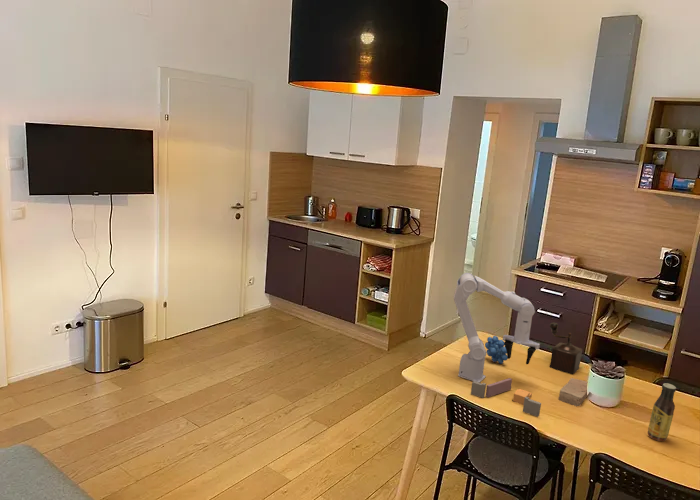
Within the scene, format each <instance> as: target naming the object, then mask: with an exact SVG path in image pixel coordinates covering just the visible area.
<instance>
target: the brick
mask: <svg viewBox="0 0 700 500" xmlns="http://www.w3.org/2000/svg"><path fill="white" fill-rule="evenodd" d="M587 383H588V381H586V380H582V379H578V378H573V377H572V378H570V379H569V381H568V382H567V383H566V384H564V386H562V387H561V389H560V390H559V395H558V400H559V401H560V402H563V403H566V404H569V405H571V406H573V405H574V407H577V406H579V407H581V405H583V403H584V402H583V401H585V400H586V399H587V398H588V397H587ZM586 397H587V398H586Z"/></svg>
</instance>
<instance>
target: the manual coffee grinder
mask: <svg viewBox="0 0 700 500" xmlns="http://www.w3.org/2000/svg"><path fill="white" fill-rule="evenodd" d="M549 327H550V329H551V333H552V335H553V337H555V338H559V339H560V338H561V339H567V342H565V343H563V342H559V343H557V344H556V345H555V346H554V347H552V349H551V357H550V364H549V368H551V369H553V370H556V371H559V372H562V373H566V374H569V375H574V374H575V373H577V371H579V369H580V364H581V359H582V353H583V348H581V347H578V346H576V345H574V344H573V343H572V341H571V338H572V333H571V332H568V335H567V336H565V335H558V334H557V333H559V331H558V328H559V324H558V322H551V323H550V324H549Z"/></svg>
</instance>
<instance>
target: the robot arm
mask: <svg viewBox="0 0 700 500" xmlns="http://www.w3.org/2000/svg"><path fill="white" fill-rule="evenodd" d="M475 292H477V293H479V292H486V293H487V294H489V295H492V296H494V297H496V298H498V299H500V301H501V302H500V303H501V304H502V305H504V306H507V307H508V308H510V309H512V310H514V311H516V312H517V317H516V322H515V329H514V335H509V334H504V335H502V340H503V341H504V347H506V351H507V354H506V355H507V358H508V359H507V360H510V359H511V357H512V352H513V347H514V346H513V345H514V344H516V345H522V346H525V347H528V348H527V353H526V354H527V355H526V361H525V364H526V365H529V364H530V362H531V359H532V357H533V356H534V353H535V352H536V351H537V350H539V349H540V347H541V346H540V345H541V343H539V342H536V341H533V340H530V336H531V335H530V334H531V327H532V321H533V320H532V319H533V316H534V314H536V311H535V306H534V305H533V304H532V302H531V301H530V300H529V299H528V298H526V297H521V296H519V295H517V294H516V292H515V291H513V290H512V291H510V290H506V291H503V290H502V289H500V288H499V287H497V286H495V285H494V284H491V283H490V282H488V281H487V280H485V279H483V278H481V277H479V276H477V275H473V273H471V272H464V273H462V274H461V275H460V276H459V278H458V279H457V280H456V286H455V290H454V294H453V301H454V304H455V307H456V309H457V312H458V315H459V318H460V320H461V323H462V327H463V329H464V333H465V335H466V338H467V341H468V344H467V347H468V349H469V351H468V353H463V354H462V355H461V357H460V361H459V369H458V374H457V377H459V378H462V379H466V380H468V381H472V382H473V381H476V382H479V383H481V382H482V381H483V380H484V379H485V378H486V377H487V375H485V374H484V369H485V360H486V356H487V349H485V348H486V347H485V343H484V342H483V340H482V339H481V338H480V337H479V334H478V331H477V329H476V326H475V323H474V319H473V318H472V315H471V311H470V308H469V305H468V302H467V300H468V298H469V297H470V295H472V294H474V293H475Z"/></svg>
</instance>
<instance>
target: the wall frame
mask: <svg viewBox="0 0 700 500" xmlns="http://www.w3.org/2000/svg"><path fill="white" fill-rule="evenodd" d="M486 389H487V383H485V382H482V383H481V382H480V383H479V382H476V381H472V382H471V388H470V395H472V396H475V397H479V398H482V399H484V398H485V397H486ZM522 405H523V404H522ZM541 408H542V402H539V401H537V400H533V399H531V398H530V399H529V397H525V399H524V405H523V406H522V412H523V413H525V414H528V415H531V416H534V417H538V418H539V417H540V414H541V413H540V412H541Z"/></svg>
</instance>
